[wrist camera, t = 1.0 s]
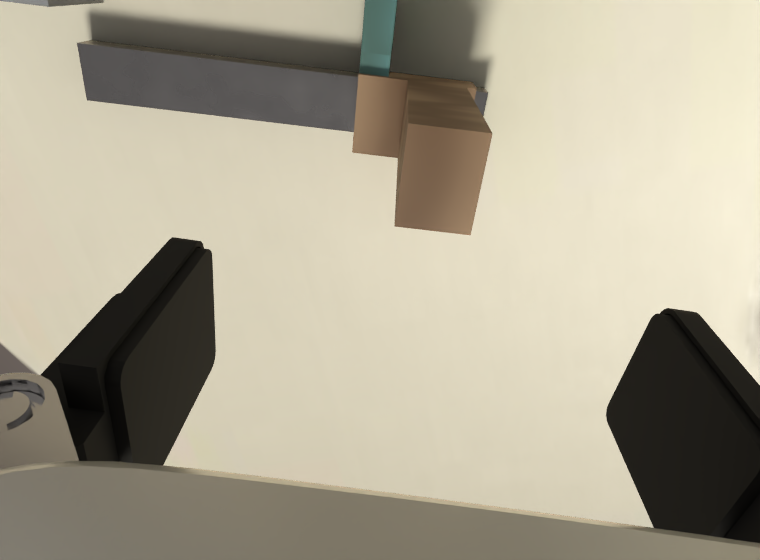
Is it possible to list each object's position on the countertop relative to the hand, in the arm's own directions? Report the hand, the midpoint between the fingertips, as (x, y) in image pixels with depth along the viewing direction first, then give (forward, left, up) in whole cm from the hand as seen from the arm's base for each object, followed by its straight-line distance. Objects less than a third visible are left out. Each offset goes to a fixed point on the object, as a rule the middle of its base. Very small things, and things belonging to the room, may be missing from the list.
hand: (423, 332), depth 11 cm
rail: (+7, 0, -22) cm, 23 cm away
